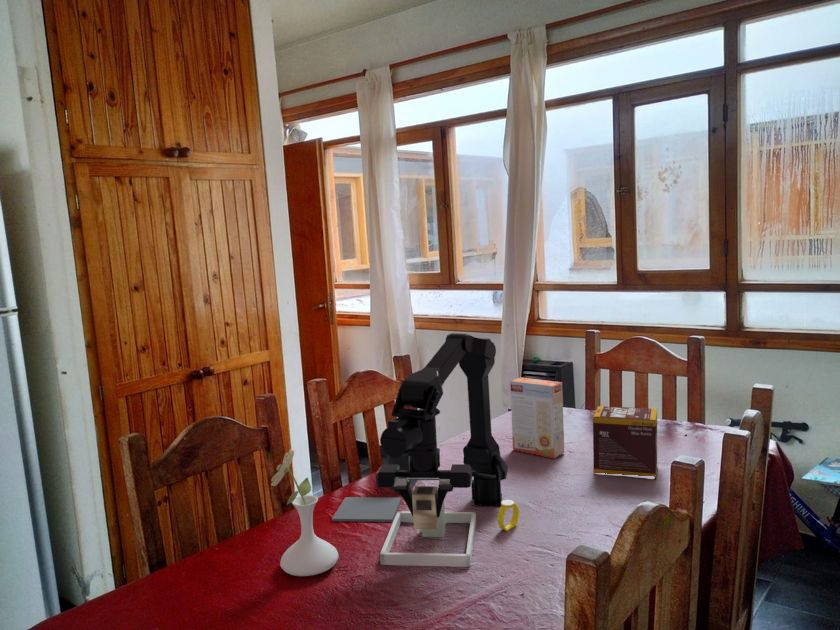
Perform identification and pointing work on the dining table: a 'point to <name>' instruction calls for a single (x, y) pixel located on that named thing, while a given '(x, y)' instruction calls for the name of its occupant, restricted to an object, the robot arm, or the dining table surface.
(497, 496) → the robot arm
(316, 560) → the flower in vase
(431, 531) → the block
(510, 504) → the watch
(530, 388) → the cracker box
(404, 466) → the small box
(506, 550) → the dining table surface
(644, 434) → the supplement box
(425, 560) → the white square frame
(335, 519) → the mat
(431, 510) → the labelled block
